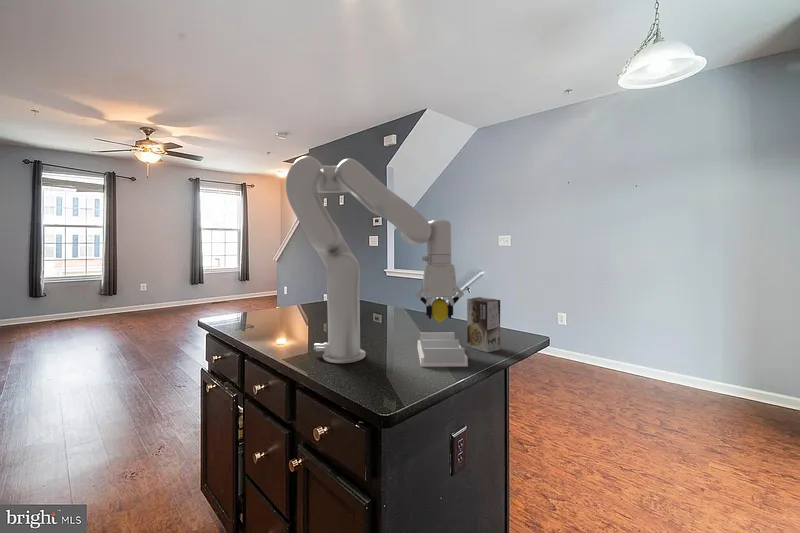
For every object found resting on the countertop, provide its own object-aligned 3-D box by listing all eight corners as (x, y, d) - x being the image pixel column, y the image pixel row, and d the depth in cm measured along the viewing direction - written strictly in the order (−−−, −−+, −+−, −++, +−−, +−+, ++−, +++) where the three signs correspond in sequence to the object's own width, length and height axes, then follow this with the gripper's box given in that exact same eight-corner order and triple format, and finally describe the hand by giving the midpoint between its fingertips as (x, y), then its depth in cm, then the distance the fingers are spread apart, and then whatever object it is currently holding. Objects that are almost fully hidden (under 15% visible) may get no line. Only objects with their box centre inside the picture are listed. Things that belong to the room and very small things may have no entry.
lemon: (448, 324, 109) (447, 298, 109) (430, 324, 110) (429, 298, 110) (449, 321, 115) (449, 296, 114) (432, 320, 116) (431, 296, 115)
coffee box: (500, 349, 115) (501, 299, 114) (487, 353, 112) (487, 301, 111) (479, 343, 123) (480, 296, 122) (466, 346, 119) (466, 298, 118)
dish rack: (420, 366, 99) (420, 348, 99) (417, 347, 118) (417, 332, 118) (467, 366, 99) (467, 348, 99) (456, 347, 118) (456, 332, 118)
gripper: (411, 261, 108) (412, 320, 109) (469, 260, 108) (469, 319, 109) (411, 260, 115) (411, 316, 116) (464, 259, 115) (464, 315, 116)
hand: (439, 317), depth 112 cm, fingers closed on lemon, 5 cm apart
